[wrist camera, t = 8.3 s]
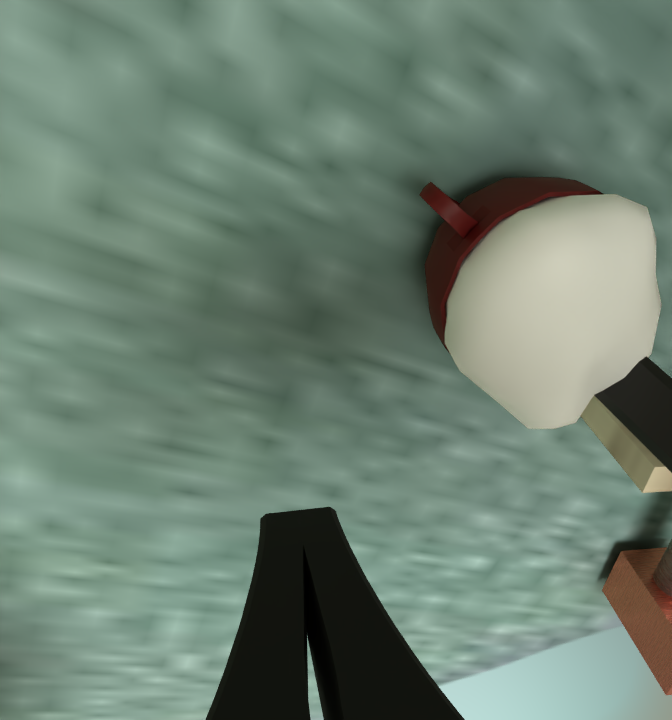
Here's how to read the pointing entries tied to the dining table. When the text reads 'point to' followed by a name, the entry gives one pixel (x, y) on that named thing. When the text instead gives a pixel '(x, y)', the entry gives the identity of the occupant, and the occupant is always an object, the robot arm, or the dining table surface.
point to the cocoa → (552, 302)
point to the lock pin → (646, 605)
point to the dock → (627, 449)
